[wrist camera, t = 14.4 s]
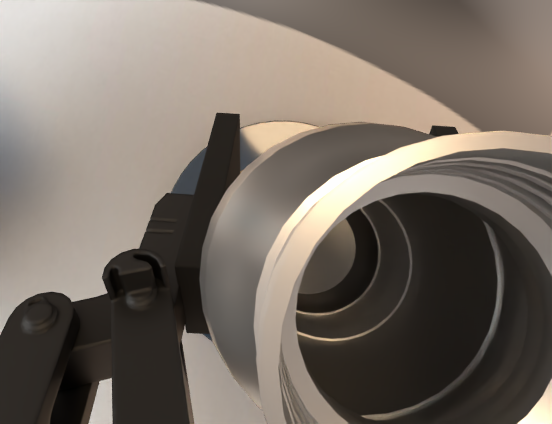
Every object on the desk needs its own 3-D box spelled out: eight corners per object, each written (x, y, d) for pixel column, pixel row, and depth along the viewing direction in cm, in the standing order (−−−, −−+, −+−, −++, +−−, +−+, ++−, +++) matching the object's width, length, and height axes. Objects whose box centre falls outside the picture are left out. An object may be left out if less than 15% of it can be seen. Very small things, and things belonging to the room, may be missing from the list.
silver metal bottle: (271, 167, 23) (246, -201, 3) (386, 215, 23) (1095, 138, 3) (226, 276, 23) (-104, 611, 3) (341, 324, 23) (792, 997, 3)
